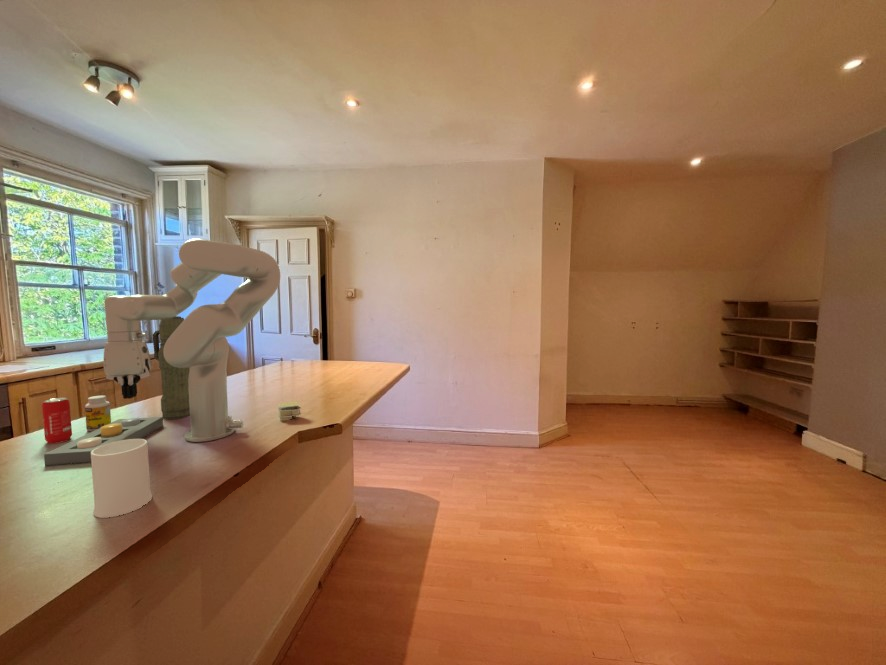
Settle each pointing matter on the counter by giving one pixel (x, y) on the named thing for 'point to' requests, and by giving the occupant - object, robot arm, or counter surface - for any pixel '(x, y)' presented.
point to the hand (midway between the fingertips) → (130, 397)
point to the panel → (83, 455)
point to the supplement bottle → (97, 412)
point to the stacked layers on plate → (288, 410)
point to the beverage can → (57, 420)
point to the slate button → (130, 422)
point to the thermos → (171, 375)
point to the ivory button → (89, 442)
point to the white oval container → (120, 477)
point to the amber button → (111, 429)
